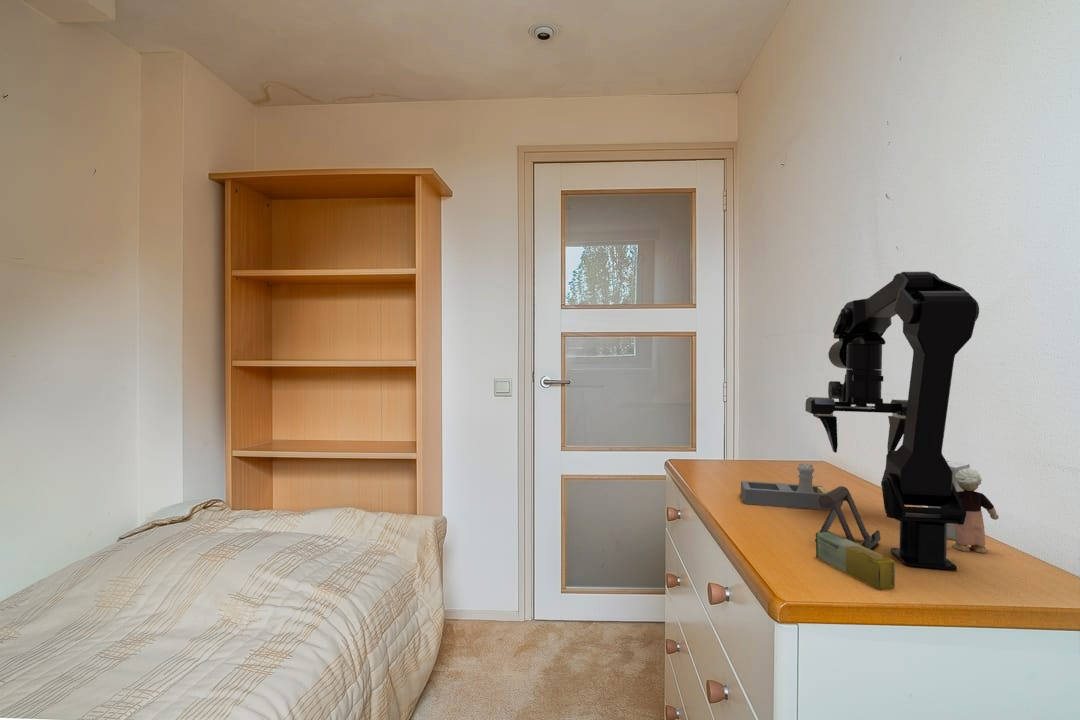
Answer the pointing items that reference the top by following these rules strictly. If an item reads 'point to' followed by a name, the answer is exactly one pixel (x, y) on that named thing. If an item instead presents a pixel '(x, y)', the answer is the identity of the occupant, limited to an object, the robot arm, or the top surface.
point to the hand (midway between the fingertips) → (862, 453)
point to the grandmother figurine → (972, 512)
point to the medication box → (856, 560)
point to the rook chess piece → (805, 478)
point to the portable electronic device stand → (834, 503)
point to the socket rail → (781, 495)
